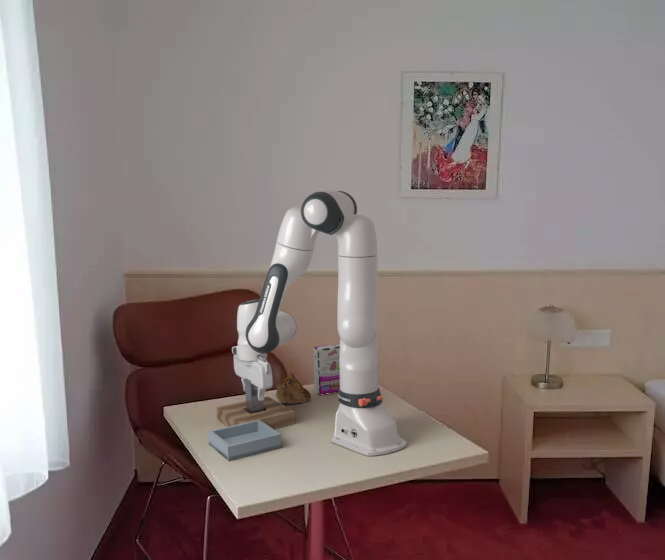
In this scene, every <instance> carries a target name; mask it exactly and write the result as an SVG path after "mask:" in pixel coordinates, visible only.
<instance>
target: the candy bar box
mask: <svg viewBox="0 0 665 560" xmlns="http://www.w3.org/2000/svg"><path fill="white" fill-rule="evenodd" d="M312 349H313V351H312V353H313V354H312V355H313V374H314V377H313V379H314V392H315V391H316V392H317V393H318V395H319V396H322V395H321V394H325V395H327V394H326V393H331V394H335V393H334V392H337V393H338V390H339V388H340V370H339V358H340V342H339V343H332V344H326V345H325V344H324V345H319V346H318V345H317V346H312ZM316 392H315V393H316ZM317 393H316V394H317Z"/></svg>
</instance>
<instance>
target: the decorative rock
mask: <svg viewBox="0 0 665 560" xmlns="http://www.w3.org/2000/svg"><path fill="white" fill-rule="evenodd" d="M275 396H276V398H277V399H278V402H279V403H281V404H291V405H292V404H298V403H307V402H310V401H311V399H312V396H311V393H310V392H309V390H308V389H307V388H305V387H303V384H301V383H300V381H298V379H297V378H296V377H295V375H294V374H293V372H290V373H289V374H288V376H286V377H284V378H283V379H281V380H280V381H279V382H278V383H277V384H276V393H275Z"/></svg>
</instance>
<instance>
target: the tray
mask: <svg viewBox="0 0 665 560" xmlns="http://www.w3.org/2000/svg"><path fill="white" fill-rule="evenodd" d="M207 435H208V437H207V438H208V439H207V440H208V446H210V447H211V448H212V449H213V450H215V451H216V452H217V453H218V454H220V455H221V457H223V458H224V459H225V460H227V461H228V462H230V461H235V460H239V459H243V458H245V457H246V458H247V457H250V456H255V455H258V454H263V453H266V452H270V451H274V450H278V449H282V447H283V446H282V433H280V432H279V431H277V429H272V428H271V427H269V426H268V425H266V424H265V423H263V422H262V421H260V420H255V421H251V422H246V423H242V424H238V425H233V426H229V427H227V426H224V427H219V428H215V429H211V430H208V431H207Z"/></svg>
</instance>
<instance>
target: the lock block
mask: <svg viewBox="0 0 665 560" xmlns="http://www.w3.org/2000/svg"><path fill="white" fill-rule="evenodd" d="M263 404H264V411H262V412H257V413H253V414H250V413H248V412H247V411H246V400H243V401H239V402H234V403H229V404H224V405H219V406H216V419H217V420H218V421H219V423H221V424H223V425H224V426H225V427H229V426H233V425H238V424H242V423H246V422H251V421H255V420H260V421H262V422H263V423H265V424H266V425H268V426H269V427H271V428H272V429H274V430H277V429H281V428H285V427H288V426H289V427H290V426H293V425H296V418H295V417H296V416H295V415H296V414H295V413H296V412H295V411H294V410H293V409H291V408H289V407H287V406H286V405H284V404H283V403H281V402H280V401H277V400H275V399H274V398H272V397H270V396H264V400H263Z"/></svg>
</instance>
